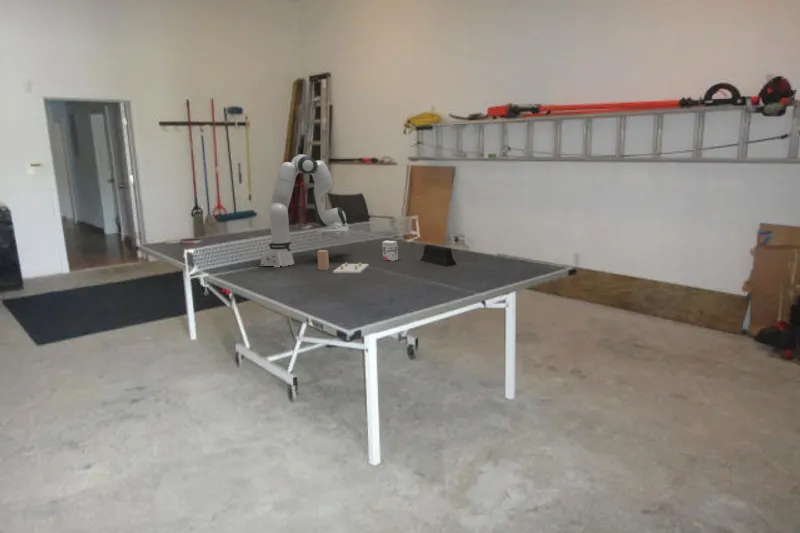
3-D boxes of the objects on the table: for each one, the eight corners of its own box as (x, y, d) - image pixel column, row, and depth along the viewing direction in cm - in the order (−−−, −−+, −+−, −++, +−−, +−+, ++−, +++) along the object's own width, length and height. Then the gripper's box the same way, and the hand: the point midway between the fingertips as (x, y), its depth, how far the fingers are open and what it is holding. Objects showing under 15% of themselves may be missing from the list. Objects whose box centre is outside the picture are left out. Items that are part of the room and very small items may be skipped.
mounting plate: (333, 273, 327) (332, 267, 326) (343, 265, 346) (343, 260, 345) (359, 273, 324) (359, 268, 323) (368, 265, 343) (368, 260, 342)
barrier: (456, 264, 337) (456, 248, 334) (446, 267, 331) (445, 250, 329) (430, 259, 355) (430, 243, 353) (420, 261, 350) (419, 245, 347)
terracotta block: (318, 270, 336) (317, 251, 334) (321, 268, 341) (320, 250, 339) (326, 270, 335) (325, 251, 333) (329, 268, 340) (327, 250, 338)
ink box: (382, 260, 356) (381, 241, 353) (386, 258, 360) (385, 240, 358) (394, 261, 352) (394, 242, 349) (398, 259, 356) (397, 241, 354)
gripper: (319, 226, 361) (312, 229, 348) (350, 225, 357) (344, 229, 343) (320, 236, 362) (313, 240, 349) (351, 235, 358) (345, 239, 345)
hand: (328, 234), depth 346 cm, fingers open, 8 cm apart
